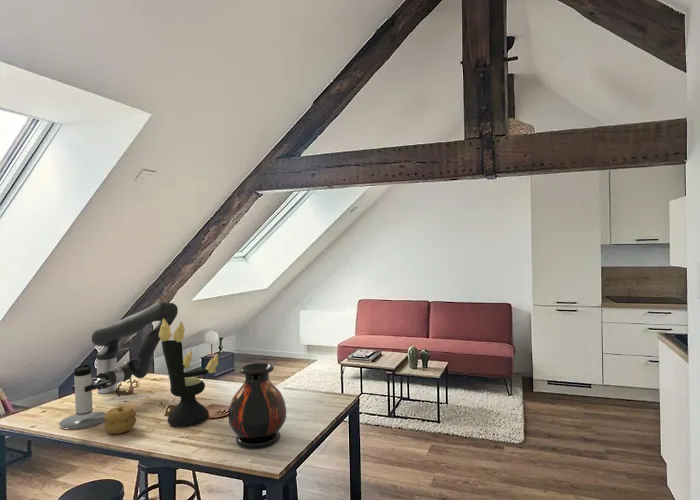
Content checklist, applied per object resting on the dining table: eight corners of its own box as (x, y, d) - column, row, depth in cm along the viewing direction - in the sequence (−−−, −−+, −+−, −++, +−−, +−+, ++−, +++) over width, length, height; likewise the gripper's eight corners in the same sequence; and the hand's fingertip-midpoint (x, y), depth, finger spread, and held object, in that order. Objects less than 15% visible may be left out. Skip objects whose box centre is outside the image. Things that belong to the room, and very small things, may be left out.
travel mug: (96, 410, 200) (94, 364, 200) (86, 415, 193) (84, 368, 193) (82, 410, 201) (81, 364, 200) (72, 415, 194) (70, 368, 194)
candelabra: (221, 417, 198) (219, 313, 198) (178, 436, 179) (176, 321, 179) (191, 410, 208) (189, 311, 207) (147, 427, 189) (145, 318, 188)
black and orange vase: (234, 430, 184) (233, 360, 184) (288, 428, 185) (287, 359, 185) (223, 454, 162) (222, 375, 162) (284, 451, 164) (283, 373, 164)
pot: (97, 436, 181) (96, 411, 181) (116, 425, 192) (115, 401, 192) (124, 437, 179) (124, 412, 179) (142, 426, 191) (141, 402, 191)
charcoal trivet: (59, 419, 200) (59, 417, 200) (106, 411, 209) (106, 408, 209) (59, 433, 185) (59, 430, 185) (109, 423, 194) (109, 421, 194)
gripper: (98, 368, 213) (65, 379, 197) (122, 370, 208) (91, 381, 192) (98, 385, 213) (66, 396, 197) (123, 387, 208) (92, 399, 192)
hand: (79, 389), depth 195 cm, fingers closed on travel mug, 6 cm apart
